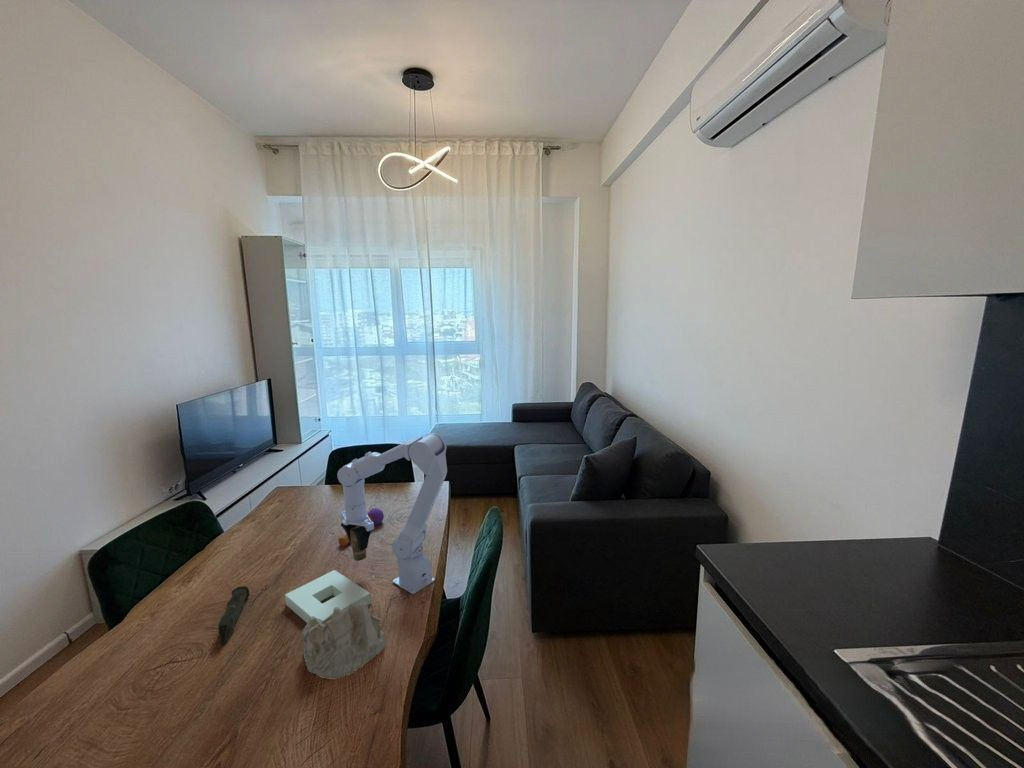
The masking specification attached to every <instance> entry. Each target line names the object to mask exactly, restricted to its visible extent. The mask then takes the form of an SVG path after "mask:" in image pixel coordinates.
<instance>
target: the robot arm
mask: <svg viewBox="0 0 1024 768" xmlns="http://www.w3.org/2000/svg"><path fill="white" fill-rule="evenodd" d="M446 453H447V445H446V443H445V441H444V439H443V438H442V437H441V436H440V435H439V434H438V433H435V432H431V433H428V434H426V435H425V436H424V435H421V436H418V437H415V438H412V439H409V440H407V441H404V442H403V443H401V444H399V445H397V446H395V447H393V448H391V449H389V450H387V451H384V452H382V453H380V452H377V451H374V452H371V451H368V452H366V453H365V454H364V456H362V457H360V458H354V459H352V460H351V462H349V463H347V464H345V465H343V466H342V467H341V468H339V470H338V471H337V474H336V475H337V480H338V482H339V483H340V484H341V485H342V490H343V500H344V501H343V502H344V510H342V511H340V512H339V513H340V518H341V519H343V521H342V522H341V523H340V526H341V528H342V529H343V531H344V532H345V533H346V534H347V536H348V539H349V541H350V542H349V543H350V545H351V537H350V529H351V528H352V527H355V526H359V527H358V528H356V529H353V532H354V534H355V535H356V538H357V541H358V546H359V549H360V550H361V551H362V550H364V549H366V550H367V548H368V546H369V542H370V541H369V540H370V536H371V533H372V531H373V530H375V525H374V523H373V522H372V521H371V520H370V518H369V517H368V515H367V514H368V512H367V505H366V504H367V503H366V502H367V501H366V494H365V491H366V490H365V483H366V481H365V479H367V478H369V477H370V476H373V475H375V474H378V473H380V472H383V470H384V469H385V468H386V465H387V464H390V463H392V462H395V461H397V460H399V459H402V458H404V459H406V460H407V461H412V462H413V463H414V465H415V466H417V468H418V469H419V470H420V471H422V473H423V474H424V475H425V478H424V480H423V482H422V485H421V487H420V489H419V491H418V494H417V497H416V500H415V502H414V504H413V507H412V509H411V512H410V514H409V516H408V519H407V521H406V523H405V525H404V526H403V527H402V529H401V531H400V533H399V535H398V537H396V538H395V539H394V540H393V541H392V543H391V551H392V553H393V554H394V556H396V558H397V572H398V576H397V577H396V578H394V579H393V580H392V583H393V584H395V585H396V586H399V588H402V589H403V590H404V591H407V592H408V593H410V594H412V595H415V594H416V593H418V592H419V591H421V590H422V589H424V588H426V587H427V586H429V585H430V584H432V583H433V582H435V578H434V577H433V572H432V571H433V568H432V561H431V559H430V558H428V557H427V556H426V554H425V553H424V546H423V545H424V541H425V540H426V537H427V530H426V529H427V527H428V524H427V522H428V519H429V517H430V514H431V513H432V510H433V507H434V505H435V503H436V500H437V498H438V496H439V493H440V490H441V488H442V486H443V484H444V481H445V479H446V477H447V473H448V465H447V456H446ZM346 534H345V535H346Z"/></svg>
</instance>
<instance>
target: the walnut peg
mask: <svg viewBox="0 0 1024 768" xmlns="http://www.w3.org/2000/svg"><path fill="white" fill-rule="evenodd" d="M358 527H359V526H355V527H352V528H351V529H350V537H351V544H350V547H351V548H352V556H353V557H352V558H353V560H354V561H362V560H364V559H366V558H367V548H366V549H364V550H362V551H361V550H360V549H359V546H358V541H357V538H356V535H355V534H354V532H353V529H356V528H358Z"/></svg>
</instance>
